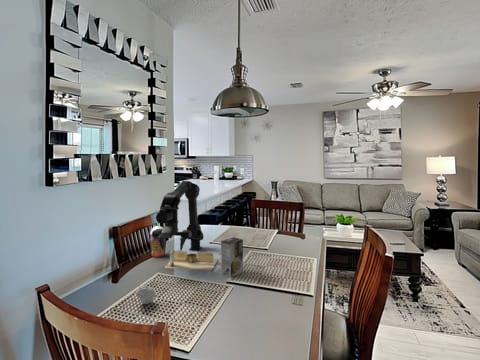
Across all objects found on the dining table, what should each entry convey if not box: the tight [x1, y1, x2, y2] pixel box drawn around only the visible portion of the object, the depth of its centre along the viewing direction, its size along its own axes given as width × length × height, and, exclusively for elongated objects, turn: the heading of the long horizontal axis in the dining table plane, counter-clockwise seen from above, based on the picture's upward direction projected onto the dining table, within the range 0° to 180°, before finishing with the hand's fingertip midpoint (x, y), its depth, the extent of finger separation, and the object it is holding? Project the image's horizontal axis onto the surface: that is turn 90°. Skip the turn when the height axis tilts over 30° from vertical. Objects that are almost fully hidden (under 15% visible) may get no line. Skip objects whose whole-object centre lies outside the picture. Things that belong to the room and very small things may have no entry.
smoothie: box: [149, 221, 166, 258], centre depth 160 cm, size 8×8×20 cm
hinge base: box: [174, 250, 198, 263], centre depth 152 cm, size 5×13×5 cm, turn 84°
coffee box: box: [220, 236, 244, 278], centre depth 137 cm, size 9×6×16 cm
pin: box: [168, 249, 176, 267], centre depth 145 cm, size 3×3×8 cm
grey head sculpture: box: [135, 285, 156, 305], centre depth 108 cm, size 6×7×7 cm
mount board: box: [164, 257, 219, 272], centre depth 149 cm, size 16×24×1 cm, turn 84°
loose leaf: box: [197, 251, 214, 262], centre depth 151 cm, size 2×8×4 cm, turn 85°
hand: (172, 250), depth 145 cm, fingers open, 9 cm apart
